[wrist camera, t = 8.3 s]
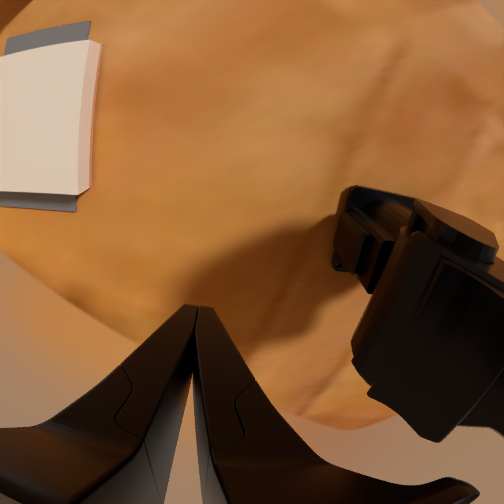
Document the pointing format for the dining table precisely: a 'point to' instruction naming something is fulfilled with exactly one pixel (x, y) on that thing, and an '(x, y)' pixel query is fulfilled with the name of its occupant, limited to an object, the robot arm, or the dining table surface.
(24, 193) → the grey mat
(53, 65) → the tile
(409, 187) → the dining table surface
